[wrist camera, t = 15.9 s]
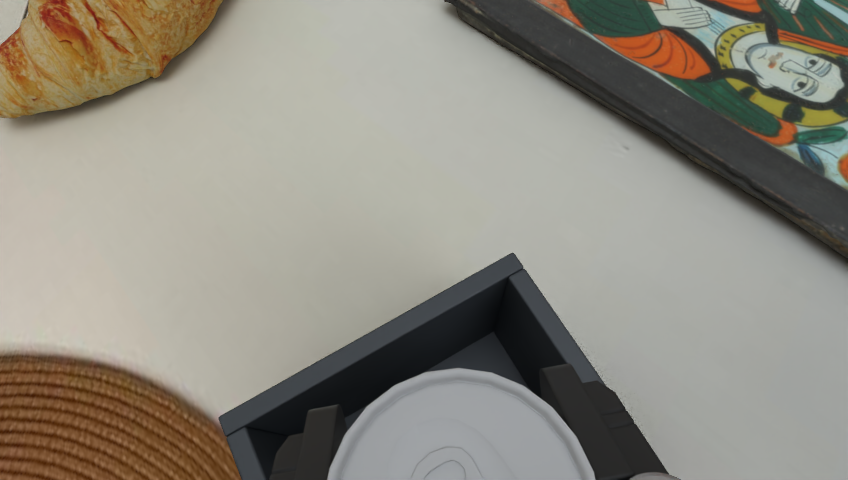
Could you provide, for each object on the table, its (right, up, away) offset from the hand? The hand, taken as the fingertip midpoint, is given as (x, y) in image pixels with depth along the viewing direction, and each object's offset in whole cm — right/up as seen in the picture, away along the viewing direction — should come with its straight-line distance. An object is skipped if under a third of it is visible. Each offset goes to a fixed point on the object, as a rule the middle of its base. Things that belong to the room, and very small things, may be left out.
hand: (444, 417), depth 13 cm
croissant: (-20, +19, +24) cm, 36 cm away
